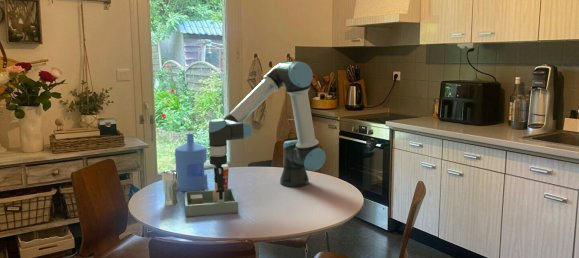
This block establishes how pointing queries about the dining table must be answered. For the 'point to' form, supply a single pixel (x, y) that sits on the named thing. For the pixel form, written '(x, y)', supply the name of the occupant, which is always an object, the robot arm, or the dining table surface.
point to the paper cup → (225, 175)
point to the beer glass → (170, 187)
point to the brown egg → (215, 196)
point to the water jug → (191, 166)
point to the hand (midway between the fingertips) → (219, 201)
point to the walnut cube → (196, 199)
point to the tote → (211, 204)
